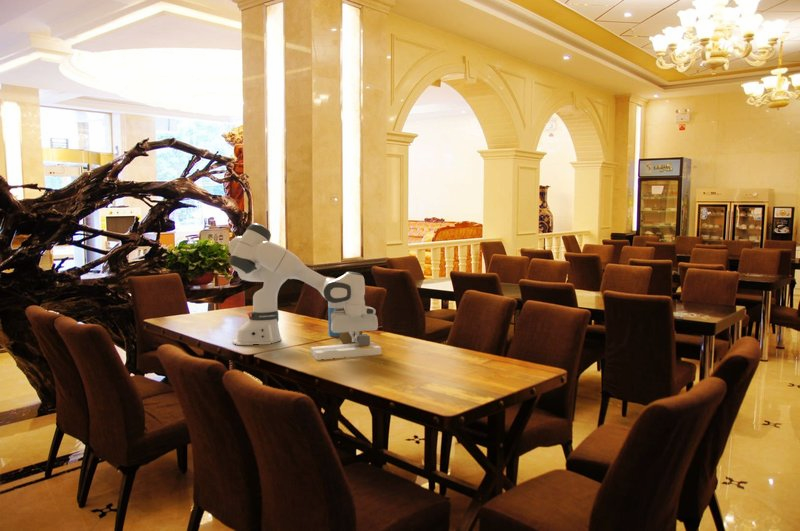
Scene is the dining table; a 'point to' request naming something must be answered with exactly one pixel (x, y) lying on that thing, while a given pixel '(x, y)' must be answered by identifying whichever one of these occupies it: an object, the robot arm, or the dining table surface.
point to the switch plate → (344, 351)
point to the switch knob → (363, 340)
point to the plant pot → (346, 334)
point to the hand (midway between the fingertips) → (354, 341)
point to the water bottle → (330, 309)
